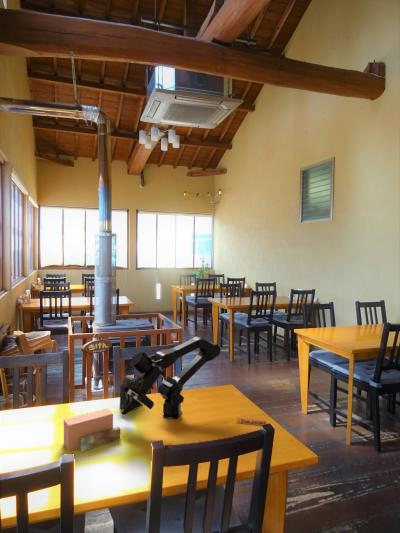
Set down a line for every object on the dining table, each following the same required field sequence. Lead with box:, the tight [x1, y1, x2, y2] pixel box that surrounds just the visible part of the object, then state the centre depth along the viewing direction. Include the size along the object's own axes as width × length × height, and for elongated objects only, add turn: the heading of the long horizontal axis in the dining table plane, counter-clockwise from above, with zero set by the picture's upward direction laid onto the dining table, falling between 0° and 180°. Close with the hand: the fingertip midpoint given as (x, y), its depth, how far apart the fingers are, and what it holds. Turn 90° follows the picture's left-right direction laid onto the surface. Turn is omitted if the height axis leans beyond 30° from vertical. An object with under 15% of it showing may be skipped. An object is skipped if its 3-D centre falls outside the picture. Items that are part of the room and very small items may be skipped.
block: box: [63, 408, 114, 452], centre depth 131 cm, size 16×6×9 cm, turn 126°
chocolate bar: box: [236, 417, 268, 426], centre depth 147 cm, size 3×12×2 cm, turn 81°
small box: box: [119, 376, 137, 410], centre depth 162 cm, size 11×6×10 cm, turn 168°
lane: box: [79, 426, 121, 452], centre depth 133 cm, size 14×12×4 cm
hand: (122, 414), depth 139 cm, fingers closed
